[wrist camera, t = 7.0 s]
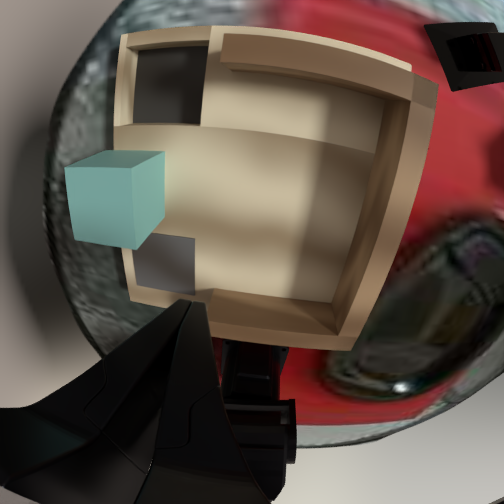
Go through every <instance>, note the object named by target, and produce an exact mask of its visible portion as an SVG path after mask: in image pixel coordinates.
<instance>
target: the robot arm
mask: <svg viewBox="0 0 504 504" xmlns="http://www.w3.org/2000/svg"><path fill="white" fill-rule="evenodd" d="M228 341H229V342H228ZM288 352H289V346H279V345H270V344H261V343H253V342H246V341H238V340H232V339H225V338H224V339H223V346H222V363H221V374H222V375H223V376H222V381H221V386H220V382H219V377H218V372H217V367H216V361H215V356H214V350H213V344H212V338H211V332H210V326H209V320H208V314H207V307H206V303H205V302H201V301H193V302H192V301H191V300H188V299H182V298H180V299H178V300H177V301H175V302H174V303H173V304H172V305H170V306H169V307H168V308H166V309H165V310H164V311H163V312H161V313H160V314H159V315H157V316H156V317H155V318H154V319H152V320H151V321H150V322H148V323H147V324H146V325H145V326H143V327H142V328H141V329H139V330H138V331H137V332H136V333H134V334H133V335H132V336H131V337H129V338H128V339H127V340H125V341H124V342H123V343H122V344H120V345H119V346H118V347H117V348H115V349H114V350H113V351H111V352H110V353H109V354H108V355H106V356H105V357H104V359H101V360H100V361H99V362H98V363H96V364H95V365H94V366H92V367H91V368H90V369H88V370H87V371H85V372H84V373H83V374H81V375H80V376H78V377H77V378H75V379H74V380H72V381H71V382H69V383H68V384H66V385H65V386H63V387H61V388H60V389H58V390H56V391H55V392H53V393H51V394H50V395H48V396H47V397H45V398H43V399H42V400H40V401H38V402H36V403H34V404H32V405H29V406H26V407H20V408H0V504H271V502H272V501H274V500H275V499H276V498H277V496H278V495H279V493H280V492H281V490H282V488H283V487H284V485H285V477H286V464H294V463H295V458H296V446H297V429H296V408H295V399H289V400H280V375H281V372H282V369H283V366H284V363H285V360H286V358H287V355H288ZM151 461H152V462H151ZM150 464H151V466H150ZM149 467H150V469H149ZM146 474H147V475H146ZM490 504H504V497H502V498H500V499H498V500H496V501H494V502H492V503H490Z"/></svg>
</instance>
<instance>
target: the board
mask: <svg viewBox="0 0 504 504" xmlns="http://www.w3.org/2000/svg"><path fill="white" fill-rule="evenodd" d="M224 33H233V34H251V35H263V36H273V37H281V38H288V39H295V40H301V41H307V42H312V43H317V44H322V45H327V46H331V47H335V48H339V49H343V50H347V51H351V52H354V53H358V54H361V55H365V56H368V57H371V58H374V59H377V60H380V61H383V62H386V63H389V64H392V65H394V66H397V67H400V68H402V69H405V70H407V71H410V72H411V66H412V65H411V64H408V63H406V62H404V61H401V60H398V59H396V58H393V57H390V56H388V55H385V54H382V53H379V52H376V51H373V50H370V49H367V48H364V47H360V46H357V45H353V44H350V43H346V42H342V41H338V40H334V39H330V38H325V37H320V36H315V35H310V34H305V33H299V32H293V31H286V30H278V29H269V28H258V27H244V26H190V27H175V28H164V29H156V30H148V31H141V32H135V33H129V34H124V35H122V36H121V42H120V49H119V57H118V66H117V76H116V88H115V104H114V150H146V151H165V217H164V218H163V220H162V221H161V222H160V223H159V224H158V225H157V226H156V228H155V229H154V230H153V231H152V232H151V233H150V235H149V236H148V237H147V238H146V239H145V241H144V242H143V243H142V244H141V245H140V247H139V248H138V249H137V250H133V249H127V248H122V255H123V261H124V268H125V274H126V279H127V285H128V290H129V295H130V300H131V301H135V302H139V303H144V304H149V305H153V306H158V307H163V308H168V307H169V306H170V305H172V304H173V303H174V302H175V301H177V300H178V299H180V298H182V299H188V300H191V301H192V302H193V301H201V302H205V303H206V307H207V311H208V307H209V304H210V301H211V297H212V294H213V291H214V288H218V289H224V290H231V291H238V292H245V293H252V294H260V295H267V296H275V297H283V298H291V299H300V300H308V301H317V302H327V303H331V302H332V299H333V297H334V294H335V291H336V288H337V285H338V283H339V280H340V277H341V274H342V271H343V268H344V265H345V262H346V259H347V256H348V253H349V249H350V246H351V243H352V240H353V236H354V233H355V230H356V226H357V223H358V219H359V216H360V212H361V209H362V205H363V201H364V197H365V194H366V190H367V186H368V182H369V177H370V173H371V169H372V165H373V160H374V156H375V151H376V146H377V141H378V136H379V131H380V126H381V120H382V115H383V109H384V102H385V100H383V99H380V98H377V97H374V96H370V95H367V94H363V93H360V92H356V91H353V90H349V89H345V88H341V87H337V86H332V85H328V84H323V83H318V82H313V81H308V80H302V79H297V78H290V77H284V76H276V75H269V74H260V73H249V72H236V71H231V70H230V69H228V68H227V67H226V66H225V65H223V64H222V63H221V62H220V58H221V50H222V43H223V36H224Z"/></svg>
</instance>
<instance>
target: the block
mask: <svg viewBox="0 0 504 504" xmlns="http://www.w3.org/2000/svg"><path fill="white" fill-rule="evenodd" d="M64 168H65V179H66V188H67V196H68V204H69V211H70V217H71V223H72V228H73V234H74V239H75V240H78V241H84V242H90V243H96V244H102V245H108V246H115V247H121V248H127V249H133V250H137V249H138V248H139V247H140V245H141V244H142V243H143V242H144V241H145V239H146V238H147V237H148V236H149V235H150V233H151V232H152V231H153V230H154V229H155V228H156V226H157V225H158V224H159V223H160V222H161V221H162V220H163V218H164V217H165V151H146V150H105V151H103V152H100V153H98V154H95V155H92V156H90V157H88V158H85V159H83V160H80V161H78V162H76V163H73V164H71V165H69V166H67V167H64Z"/></svg>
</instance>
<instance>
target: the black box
mask: <svg viewBox="0 0 504 504" xmlns="http://www.w3.org/2000/svg"><path fill="white" fill-rule="evenodd" d="M424 28H425V30H426V32H427V34H428V36H429V38H430V40H431V42H432V44H433V47H434V49H435V51H436V53H437V55H438V58H439V60H440V63H441V65H442V67H443V70H444V73H445V75H446V78H447V81H448V83H449V86H450V89H451V91H452V92H454V91H458V90H463V89H468V88H472V87H478V86H483V85H488V84H494V83H500V82H504V33H499V32H498V30H497V28H496V25H495V24H494V23H489V22H454V23H438V24H427V25H424Z"/></svg>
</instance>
